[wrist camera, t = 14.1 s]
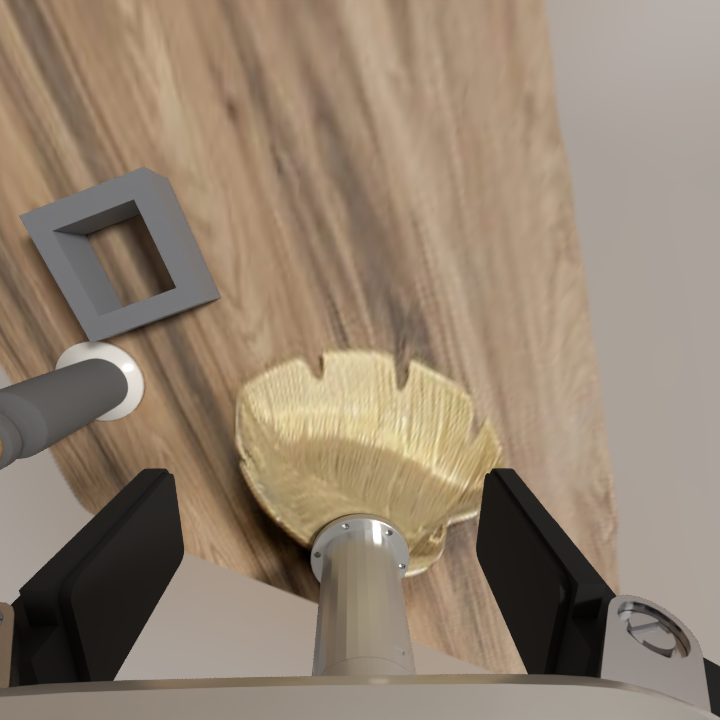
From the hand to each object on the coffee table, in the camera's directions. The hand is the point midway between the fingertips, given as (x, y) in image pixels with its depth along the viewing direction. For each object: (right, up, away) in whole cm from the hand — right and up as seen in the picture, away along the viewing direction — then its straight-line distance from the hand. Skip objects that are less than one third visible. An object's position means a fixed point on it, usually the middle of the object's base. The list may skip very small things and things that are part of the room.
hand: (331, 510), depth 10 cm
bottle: (-27, +2, +27) cm, 39 cm away
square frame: (-21, +15, +25) cm, 36 cm away
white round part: (-28, +2, +28) cm, 39 cm away
